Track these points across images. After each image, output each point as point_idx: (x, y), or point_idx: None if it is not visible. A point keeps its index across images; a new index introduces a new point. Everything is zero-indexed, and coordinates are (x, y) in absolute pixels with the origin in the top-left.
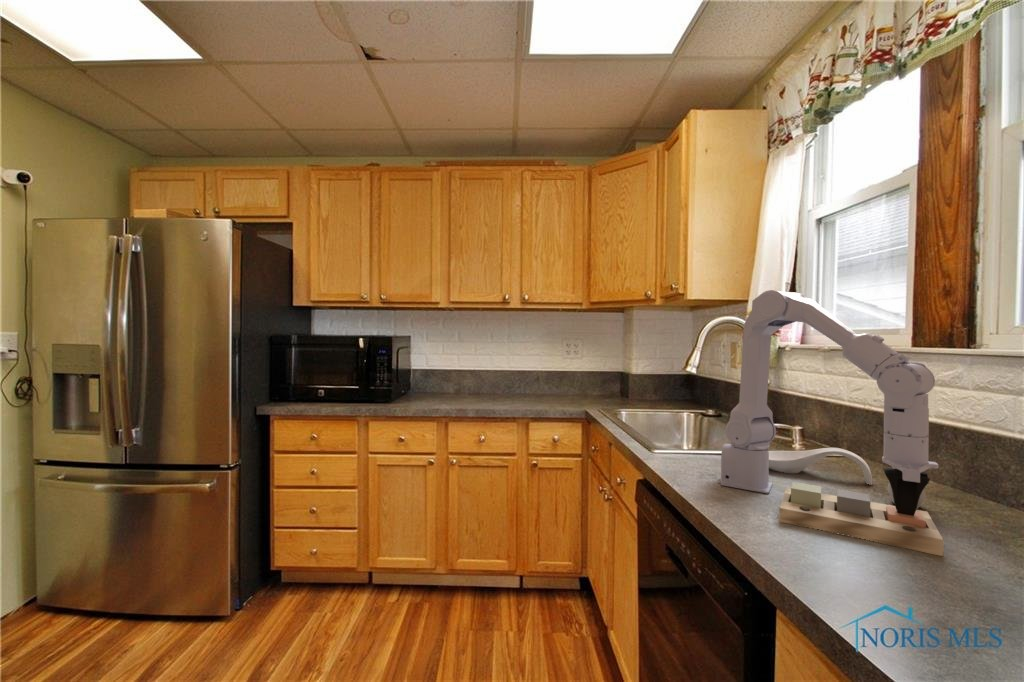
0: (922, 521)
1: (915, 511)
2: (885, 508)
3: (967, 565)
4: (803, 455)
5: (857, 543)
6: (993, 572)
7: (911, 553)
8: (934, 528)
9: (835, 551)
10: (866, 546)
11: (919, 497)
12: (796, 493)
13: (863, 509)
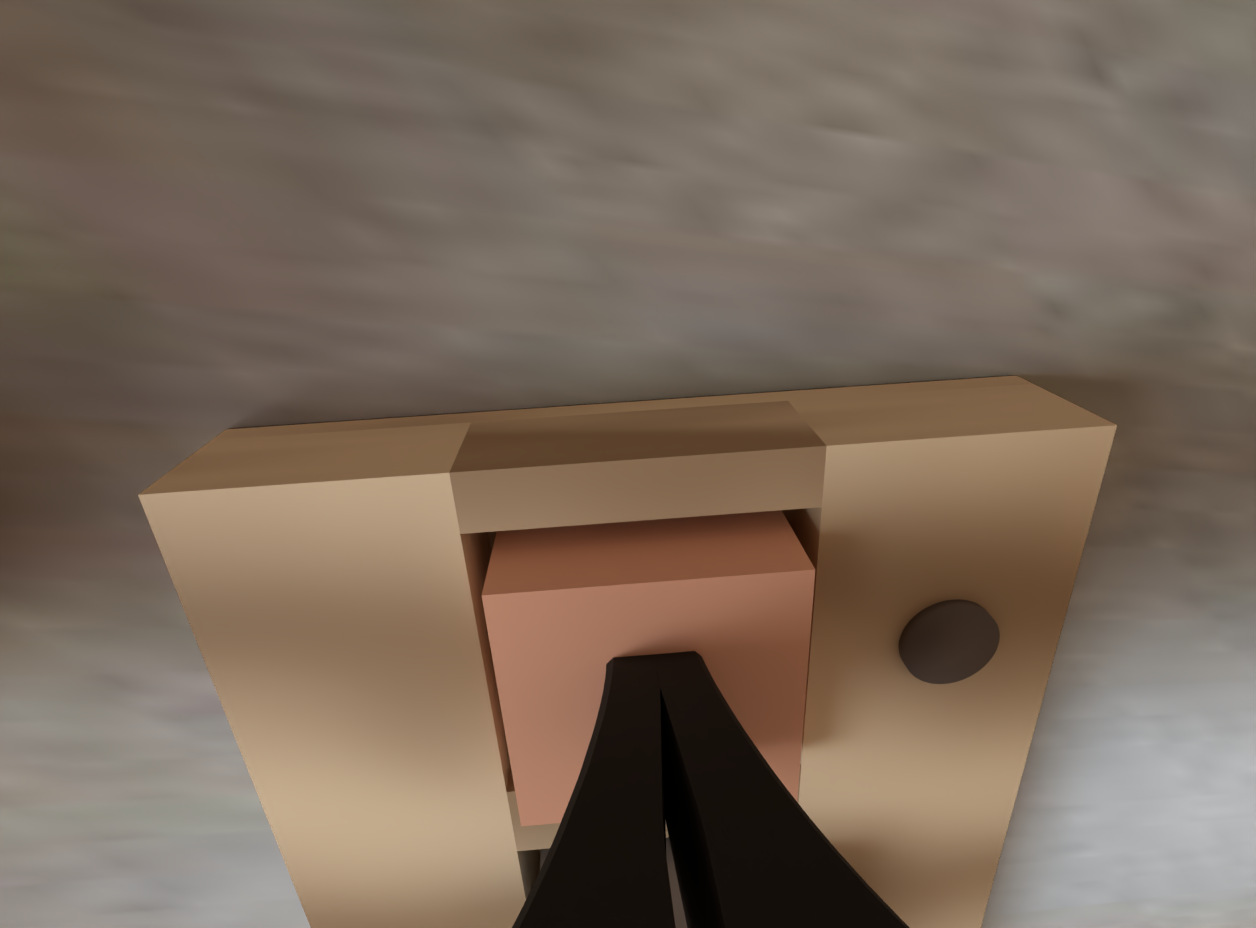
0: (810, 584)
1: (710, 677)
2: (410, 780)
3: (1132, 232)
4: None
5: (1027, 774)
6: (1211, 56)
7: None
8: (785, 468)
9: (1209, 833)
10: (1055, 739)
11: (815, 830)
12: None
13: None
